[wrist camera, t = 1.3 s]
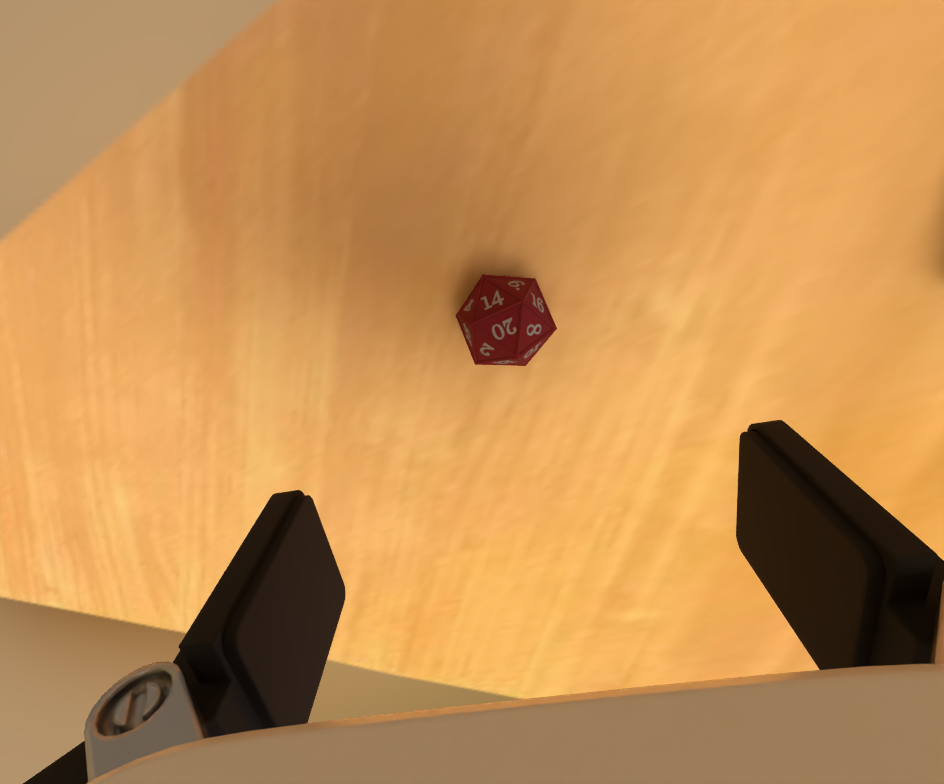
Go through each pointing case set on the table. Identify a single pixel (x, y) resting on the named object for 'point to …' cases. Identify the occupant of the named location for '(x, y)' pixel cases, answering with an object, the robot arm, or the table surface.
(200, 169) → the table surface
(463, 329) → the dice
